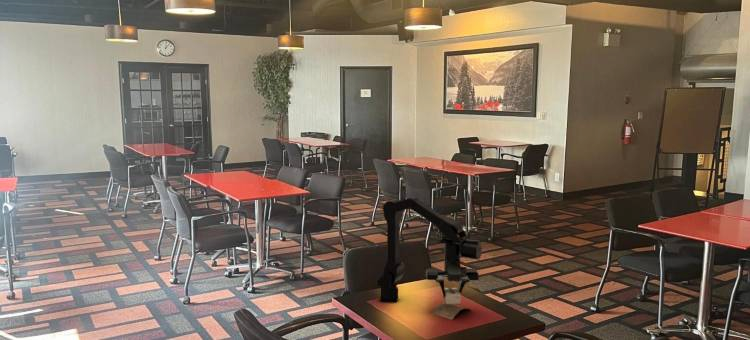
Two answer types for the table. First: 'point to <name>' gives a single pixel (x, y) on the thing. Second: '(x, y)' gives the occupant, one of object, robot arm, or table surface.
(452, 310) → the clay tablet
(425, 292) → the table surface
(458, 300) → the taped cardboard box
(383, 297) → the robot arm
